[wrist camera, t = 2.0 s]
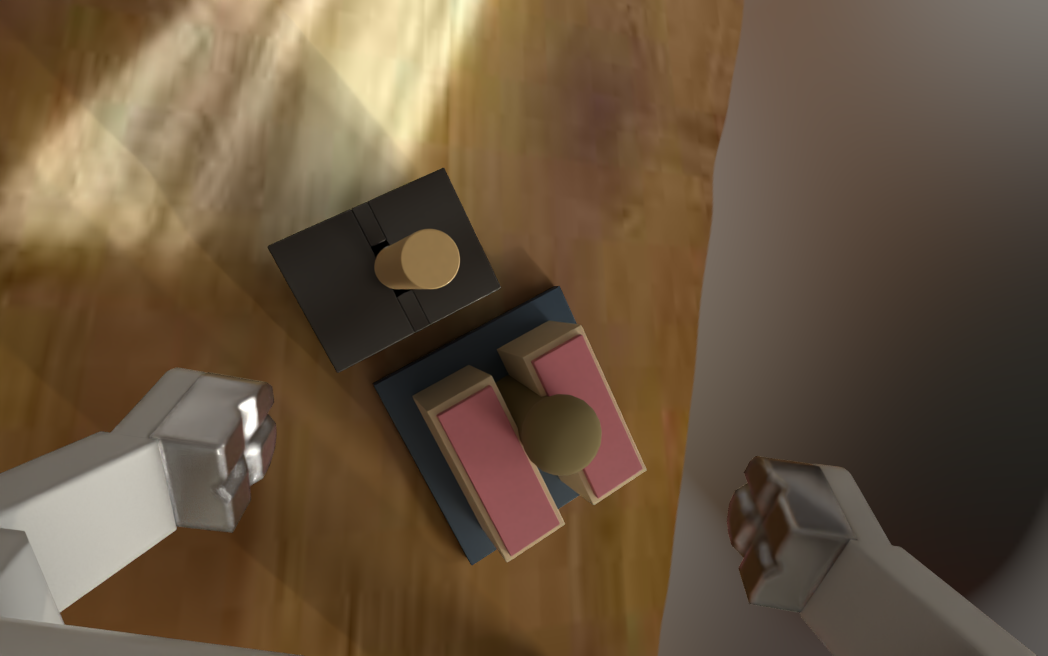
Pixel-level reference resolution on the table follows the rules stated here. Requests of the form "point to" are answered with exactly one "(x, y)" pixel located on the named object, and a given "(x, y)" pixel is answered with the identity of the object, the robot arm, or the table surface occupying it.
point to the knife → (418, 261)
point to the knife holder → (349, 276)
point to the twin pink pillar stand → (505, 426)
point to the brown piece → (553, 427)
